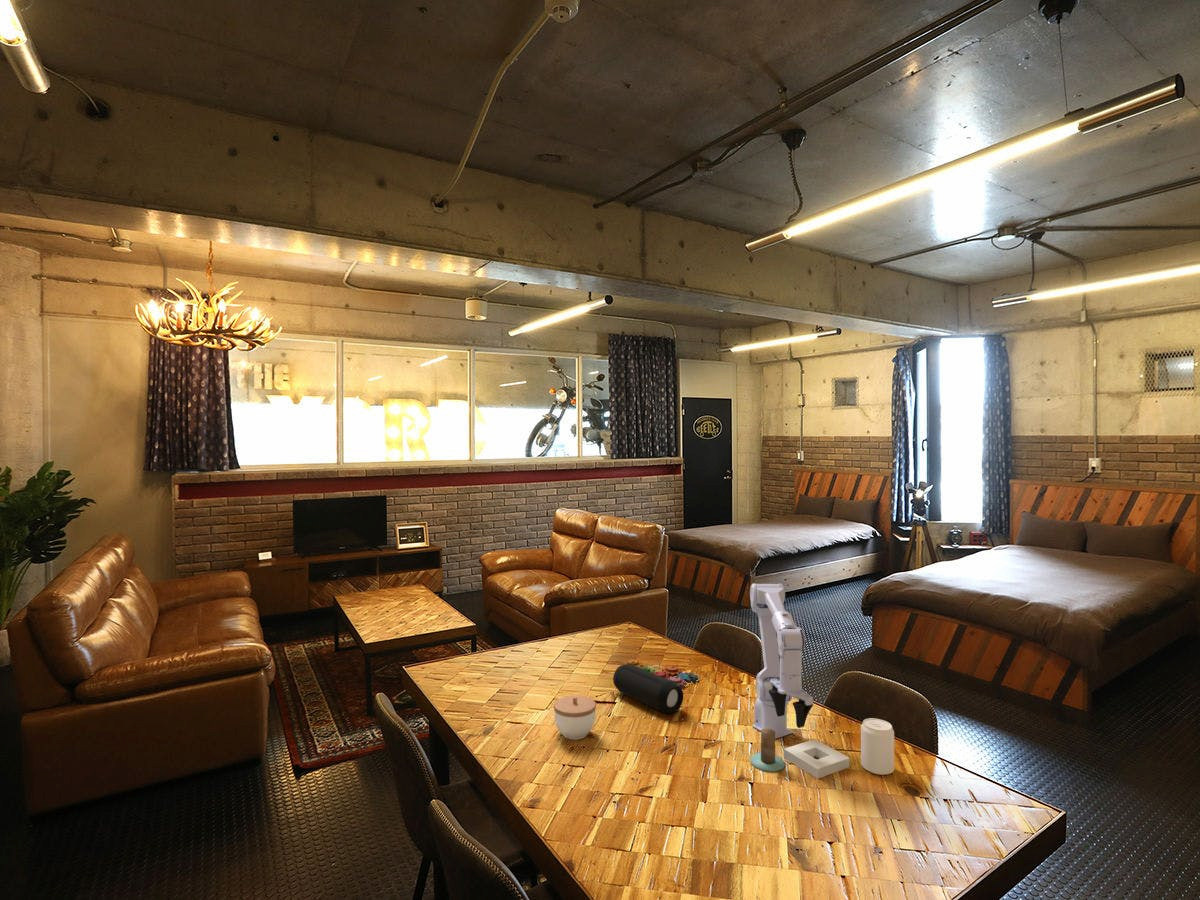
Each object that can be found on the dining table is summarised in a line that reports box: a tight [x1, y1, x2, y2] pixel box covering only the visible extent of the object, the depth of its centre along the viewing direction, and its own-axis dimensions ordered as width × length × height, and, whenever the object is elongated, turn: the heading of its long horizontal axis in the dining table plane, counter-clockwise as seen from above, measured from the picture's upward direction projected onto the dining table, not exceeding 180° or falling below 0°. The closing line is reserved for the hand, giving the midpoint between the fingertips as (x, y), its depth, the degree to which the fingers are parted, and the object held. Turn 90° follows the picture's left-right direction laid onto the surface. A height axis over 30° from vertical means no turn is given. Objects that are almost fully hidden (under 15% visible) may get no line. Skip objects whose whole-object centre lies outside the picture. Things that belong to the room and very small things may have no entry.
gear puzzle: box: [622, 658, 699, 688], centre depth 232 cm, size 31×16×4 cm, turn 46°
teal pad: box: [750, 752, 786, 773], centre depth 168 cm, size 9×9×1 cm
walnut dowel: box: [760, 728, 776, 764], centre depth 168 cm, size 4×4×8 cm
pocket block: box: [783, 738, 850, 780], centre depth 168 cm, size 12×12×2 cm
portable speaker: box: [612, 664, 684, 714], centre depth 207 cm, size 26×10×10 cm, turn 40°
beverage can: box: [860, 717, 895, 776], centre depth 165 cm, size 8×8×12 cm
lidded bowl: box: [553, 695, 597, 741], centre depth 184 cm, size 13×13×11 cm
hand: (790, 721), depth 170 cm, fingers open, 7 cm apart
